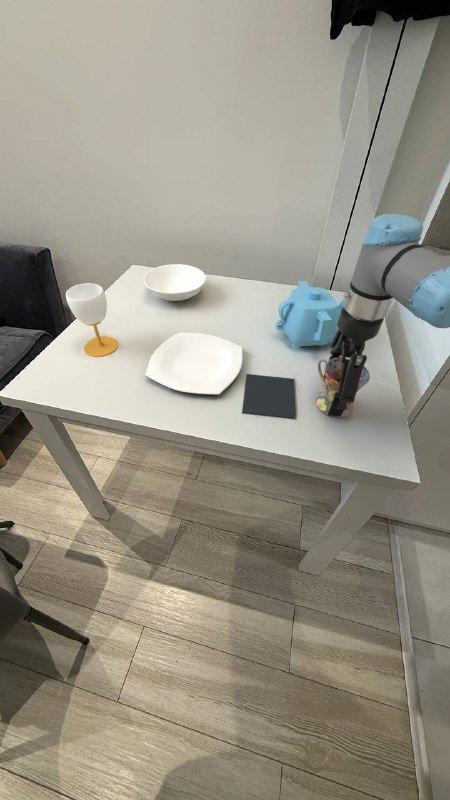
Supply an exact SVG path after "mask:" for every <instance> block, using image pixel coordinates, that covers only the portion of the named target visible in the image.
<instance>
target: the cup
mask: <svg viewBox="0 0 450 800" xmlns="http://www.w3.org/2000/svg"><path fill="white" fill-rule="evenodd" d="M65 298H66V303H67V305H68V307H69V309H70V311H71V313H72V314H73V316H74V317H75V318H76V319H77V320H78V321H79V322H80V323H81V324H84V325H86V326H89V327H90V326H92V327H93V330H94V333H95V336H96V337H92V338H91V339H88V340H87V341H86V343H85V344H83V351H84V352H85V354H86V355H88V356H90V357H95V358H98V357H100V358H101V357H105V356H108V355H111V354H112V353H114V352H115V351H116V350H117V349H118V347H119V341H118V340H117V338H114V337H113V336H109V335H100V332H99V328H98V325H100V324H101V323H102V322H103V320H105V319H106V314H107V309H108V301H107V295H106V294H105V291H104V289H103V288H102V286H101V285H99V284H97V283H93V282H91V283H90V282H87V283H86V282H85V283H80V284H75V285H73V286H71V287H69V289H66V292H65Z"/></svg>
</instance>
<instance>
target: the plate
mask: <svg viewBox="0 0 450 800" xmlns="http://www.w3.org/2000/svg"><path fill="white" fill-rule="evenodd" d="M243 352H244V351H243V346H241V345H239V344H236V343H234V342H232V341H230V340H228V339H225V338H222V337H219V336H216V335H212V334H207V333H198V332H197V333H196V332H176V333H175V334H173V335H172V336H170V337H169V338H168V339H166V340H165V341H163V342H162V343H161V344H160V345H159V346H157V348H156V349H155V350H154V351H153V352H152V354H151V356H150V358H149V361H148V364H147V368H146V372H145V376H146V377H147V378H149V379H150V380H152V381H154V382H156V383H158V384H159V385H162V386H164V387H166V388H169V389H171V390H174V391H177V392H181V393H188V394H195V395H196V394H197V395H211V396H212V395H213V396H214V395H215V396H216V395H221V394H222V393H223V392H224V391H225V390H226V389H227V388H228V387H230V385H231V384H232V383H233V382H234V380H235V379H236V378H237V377H238V376H239V373H240V372H241V369H242V366H243V359H244V355H243Z"/></svg>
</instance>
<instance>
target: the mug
mask: <svg viewBox="0 0 450 800" xmlns="http://www.w3.org/2000/svg"><path fill="white" fill-rule="evenodd" d="M346 359H348V360H349V358H348V357H346ZM322 363H324V367H323V370H324V373H325V378H326V379H325V378H324V373H323V371H322V365H321V364H322ZM342 366H343V363H342V362H341V358H333V359H331V360H329V359H328V360H326V359H319V361H318V362H317V370H318V374H319V377H320V379H321V381H322V382H323V385H322V387H323V388H322V390H321V391H320V392H318V394H317V395H316V397H315V403H316V406H317V407H318V409H319V410H320V411H321V412H323V413H324V414H325V415H327V416H328V411H329V409H330V406H331V404H332V401H333V399H334V393H336V392H338V389H339V383H340V378H341V372H342ZM370 378H371V375H370V372H369V370H368V368H367V367H366V366H365V365H364V367H363V370H362V373H361V377H360V381H359V384H358V388H357V392H356V394H357V393H358V392H359V391H360V390H361V389H362V388H363V387H364V386H366V385H367V384H368V383H369V381H370V380H371V379H370ZM354 408H355V407H354V402H353V403H350V402H347V404H346V406H345V408H344V411H343V413H342V415H341V417H340V418H344V417H347V416H350V414H352V412H353V411H354ZM333 417H334V418H338V417H337V416H332V418H333Z"/></svg>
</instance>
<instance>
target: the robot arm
mask: <svg viewBox="0 0 450 800" xmlns="http://www.w3.org/2000/svg"><path fill="white" fill-rule="evenodd" d="M423 231H424V225H423V223H421V221H420V220H419V219H417V218H415V217H412V216H409V215H404V214H399V213H385V214H381V215H378V216H376V217H375V218H373V219H372V221H371V222H370V225H369V227H368V229H367V231H366V235H365V237H364V239H363V242H361V247H360V252H359V255H358V258H357V262H356V263H355V267H354V270H353V275H352V277H351V280H350V284H349V287H348V291H345V292H344V293H343V299H344V298H346V299H345V302H344V307H343V308H342V310H341V313H340V317H339V320H338V323H337V326H338V328H337V333H336V335H335V337H334V339H333V340H332V341H331V342H330V345H329V346H330V349H331V350H330V356H329V358H328V361H329V360H331V359H333V358H341V362H342V363H343V366H342V372H341V378H340V383H339V389H338V392H336V393H334V399H333V401H332V404H331V406H330V409H329V411H328V415H327V416H329V417H333V416H337V417H336V418H342V417H341V415H342V413H343V411H344V408H345V406H346V404H347V402H350V403H353V404H354V402H355V398H356V394H357V393H358V391H357V388H358V384H359V381H360V377H361V373H362V370H363V367H364V366H365V364H366V362H367V360H368V356H367V355H366V354H363V352H364V351H365V347H366V342H367V341H369V340H372V339H374V338H375V337H377V335H378V334H379V332H380V329H381V327H382V325H383V323H384V321H385V317H386V316H387V314H388V312H389V310H390V307H391V306H392V303H393V301H394V300H395V301H397V302H398V303H399V304H400V305H402V306H403V307H404V308H405V309H407V310H408V311H409V312H410V313H411V314H412V315H413V316H414V317H416V318H417V319H421V320H422V321H424V322H426V323H427V324H429V325H430V326H432V327H434V328H437V329H448V328H450V255H448V256H447V255H446V256H445V255H440V254H439V253H436V252H434V251H432V250H430V249H428V248H427V247H425V246H423V245H422V244H420V243H419V242H420V241H421V239H422V234H423ZM346 358H349V360H348V359H346ZM323 376H324V378H325V372H324V373H323ZM325 380H326V378H325ZM356 392H357V393H356Z"/></svg>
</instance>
